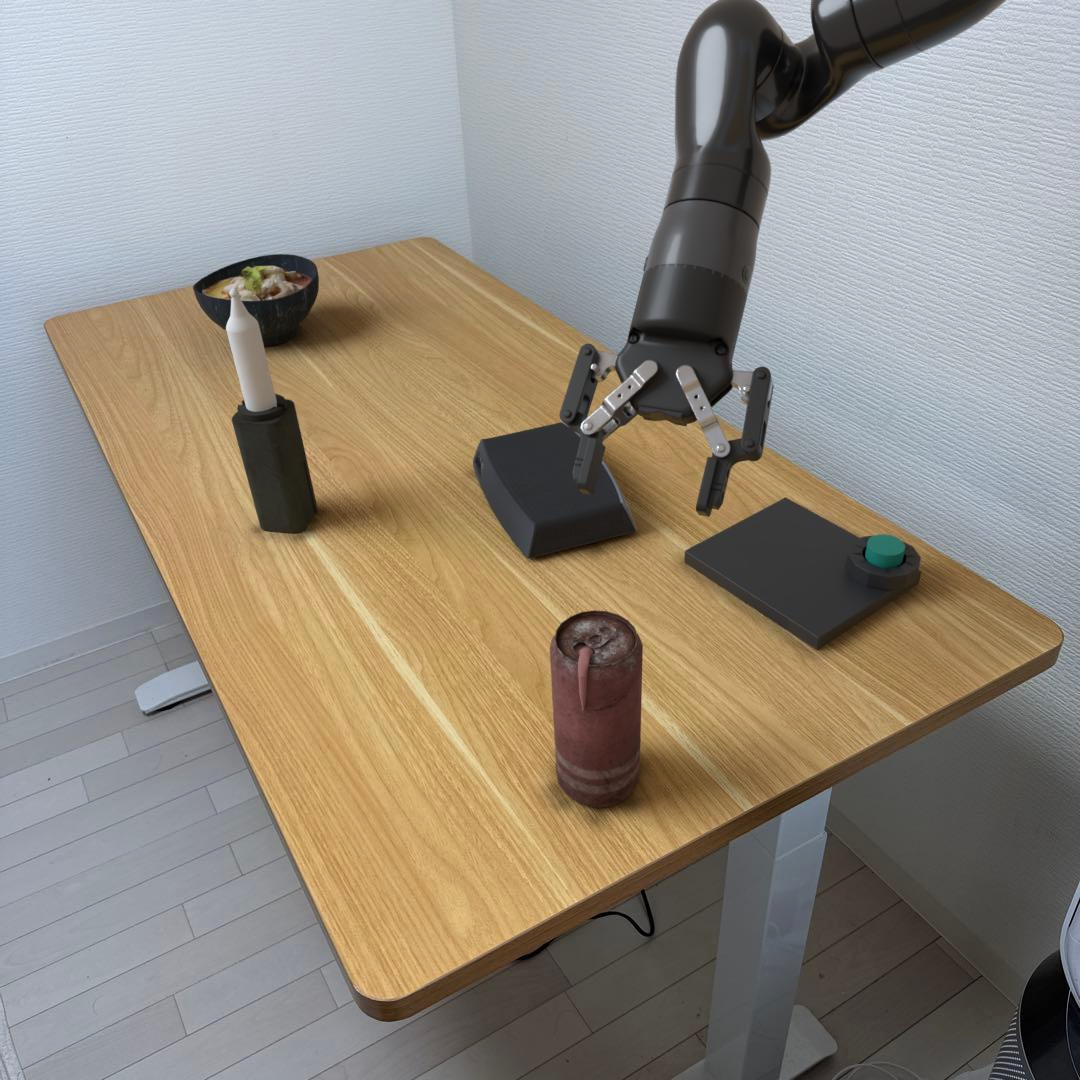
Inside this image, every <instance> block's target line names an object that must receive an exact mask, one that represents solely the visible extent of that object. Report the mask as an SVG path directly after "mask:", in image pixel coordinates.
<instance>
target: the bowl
mask: <svg viewBox="0 0 1080 1080" xmlns="http://www.w3.org/2000/svg"><path fill="white" fill-rule="evenodd" d="M319 286H320V276H319V271H318V266H317V265H316V264H315V262H314V261H313V260H311V259H309V258H307V257H303V256H301V255H296V254H289V253H287V254H286V253H275V254H274V253H273V254H265V255H259V256H254V257H250V258H247V259H244V260H240V261H237V262H234V263H232V264H229V265H226V266H224V267H221V268H218V269H216V270H215V271H213V272H211V273H209V274H207V275H205V276H204V277H202V278H201V279H199V280H198V281H196V282H195V283H194V284H193V285H192V290H193V294H194V296H195V299H196V301H197V304H198V305H199V307H200V308H201V310H202V311H203V312H204V314H205V315H206V316H207V318H209V319H210V320H211V321H212V322H213V323H214V324H216V325H217V326H219V327H220V328H221V329H222V330H224V331H226V325H227V322H228V320H229V318H230V314H231V299H232V297H231V296H230V294H229V292H230V290H231V289H236V290H238V291H239V298H240V299H241V301H242V303H243V304H244V306H245V308H246V310H247V311H248V313H249V314H251V315H252V316H253V317H254V318H255V319H256V320H257V322H258V324H259V328H260V332H261V336H262V340H263V345H264V348H266V347H272V346H277V345H281V344H284V343H286V342H288V341H291V340H292V339H294V338H295V337H296V336H297V335H298V333H299V330H300V326H301V324H302V323H303V321H305V319H306V318H307V317H308V315H309V314H310V312H311V310H312V309H313V306H314V305H315V302H316V300H317V298H318V294H319V288H320V287H319Z"/></svg>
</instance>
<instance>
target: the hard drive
mask: <svg viewBox="0 0 1080 1080" xmlns="http://www.w3.org/2000/svg"><path fill="white" fill-rule="evenodd" d="M579 443H580V434H578V433H577V432H574V431H572V430H571V429H570V428H569V427H568V426H567V425H566V424H565V423H564V422H563V421H560V422H556V423H551V424H547V425H542V426H538V427H533V428H529V429H525V430H520V431H516V432H511V433H506V434H502V435H497V436H493V437H488V438H482V439H480V441H479V443H478V445H477V447H476V450H475V453H474V455H473V459H472V466H473V471H474V473H475V477H476V478H477V479H476V480H477V481H478V484H479V486H480V489H481V491H482V493H483V495H484V498H485V499H486V501H487V503H488V505H489V507H490V509H491V510H492V512H493V514H494V516H495V517H496V519H497V521H498V522H499V523H500V526H501V527H502V528H503V530H504V531H505V534H507V535H508V537H509V539H510V540H511V541H512V542H513V544H514V545H515V547H516V548H518V550H519V551H520V553H522V555H523V556H524V557H525V558H526V559H534V558H537V557H540V556H541V557H542V556H545V555H549V554H553V553H558V552H561V551H565V550H569V549H573V548H577V547H581V546H585V545H589V544H593V543H599V542H601V541H605V540H608V539H613V538H617V537H622V536H626V535H629V534H634V533H637V532H638V531H639V528H638V526H637V523H636V520H635V518H634V515H633V514H632V511H631V508H630V506H629V504H628V502H627V500H626V498H625V496H624V493H623V492H622V490H621V488H620V485H619V484H618V482H617V480H616V478H615V476H614V475H613V473H612V471H611V470H610V468H609V467H608V465H607V464H606V462H605V460H604V459H603V460H602V464H601V468H600V472H599V476H598V480H597V484H596V488H595V492H594V494H593V495H590V494H585V493H582V492H581V491H580V490H579V489H578V488H577V482H576V481H574V480H573V474H572V471H573V467H574V463H575V459H576V455H577V451H578V447H579Z"/></svg>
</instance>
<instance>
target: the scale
mask: <svg viewBox="0 0 1080 1080" xmlns="http://www.w3.org/2000/svg"><path fill="white" fill-rule="evenodd" d="M874 535H875V534H874ZM874 535H865V536H864V535H863V536H861V537H860V536H858V535H856V534H854V533H852V532H850V531H849V530H847V529H845V528H843V527H841V526H839V525H837V524H836V523H834V522H831V521H830V520H828V519H826V518H824V517H823V516H822V515H819V514H817V513H816V512H814V511H812V510H810V509H808V508H806V507H805V506H803V505H801V504H799V503H797V502H795V501H794V500H792V499H790V498H788V497H784V498H782V499H780V500H778V501H776V502H774V503H772V504H770V505H768V506H766V507H764V508H762V509H761V510H759V511H757V512H755V513H753V514H751V515H749V516H748V517H746V518H744V519H742V520H740V521H738V522H736V523H733V525H731V526H728V527H727V528H725V529H723V530H721V531H719V532H717V533H716V534H714V535H712V536H710V537H708V538H706V539H704V540H702V541H701V542H698V543H697V544H695V545H693V546H691V547H690V548H687V549H685V550H684V556H683V557H684V558H683V559H684V560H683V562H684V564H686V565H688V566H689V567H691V568H692V569H694V570H695V571H696V572H698V573H700V574H701V575H702V576H704V577H706V578H707V579H708V580H710V581H712V582H713V583H715V584H716V585H718V586H719V587H721V589H724V590H725V591H727V592H728V593H730V594H731V595H733V597H736V598H737V599H739V600H740V601H742V602H743V603H745V604H747V605H748V606H749V607H751V608H753V609H754V610H755V611H757V612H758V613H760V614H761V615H763V616H764V617H766V618H768V619H769V620H771V621H772V622H774V623H775V624H776V625H778V626H780V627H781V628H782V629H784V630H786V631H787V632H789V633H790V634H792V635H793V636H795V637H796V638H798V639H799V640H801V641H802V642H803V643H805V644H807V645H809V646H810V647H811V648H813V649H814V650H816V651H818V650H819V649H821V648H822V647H824V646H825V645H827V644H828V643H830V642H831V641H833V640H834V639H836V638H837V637H840V635H842V634H843V633H845V632H847V631H848V630H850V629H852V627H854V626H856V625H857V624H859V623H861V622H862V621H864V620H865V619H866V618H868V617H870V616H871V615H872V614H874V613H876V612H877V611H879V610H880V609H882V608H884V607H885V606H886V605H888V604H889V603H891V602H892V601H894V600H896V599H897V598H899V597H900V596H902V595H903V594H905V593H906V592H908V591H909V590H911V589H912V588H915V586H918V584H920V580H921V576H922V573H923V571H922V570H920V565H921V561H922V557H921V556H920V554H919V553H918V551H917V550H916V549H915V547H914V546H913V545H911V544H909V543H908V542H905V541H903V543H904V544H905V552H904V556H903V561H902V564H901V565H900V566H898V567H896V568H888V569H887V568H882V567H877V566H874V565H873V564H871V563H869V562H868V561H867V560H866V558H865V553H866V548H867V542H868V540H869V538H871V537H872V536H874Z"/></svg>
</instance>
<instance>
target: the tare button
mask: <svg viewBox="0 0 1080 1080" xmlns="http://www.w3.org/2000/svg"><path fill="white" fill-rule="evenodd" d="M871 536H872V537H871V538H869V540H868V542H867V548H866V553H865V558H866V560H867V561H868V562H869V563H871V564H873V565H874V566H877V567H882V568H887V569H888V568H896V567H898V566H900V565H901V564H902V561H903V556H904V552H905V544H904V543H903V542H904V540H902V539H901V538H900V537H897V536H894V535H892V534H888V533H887V534H886V533H885V534H884V533H881V534H880V533H879V534H874V536H873V535H871Z"/></svg>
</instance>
